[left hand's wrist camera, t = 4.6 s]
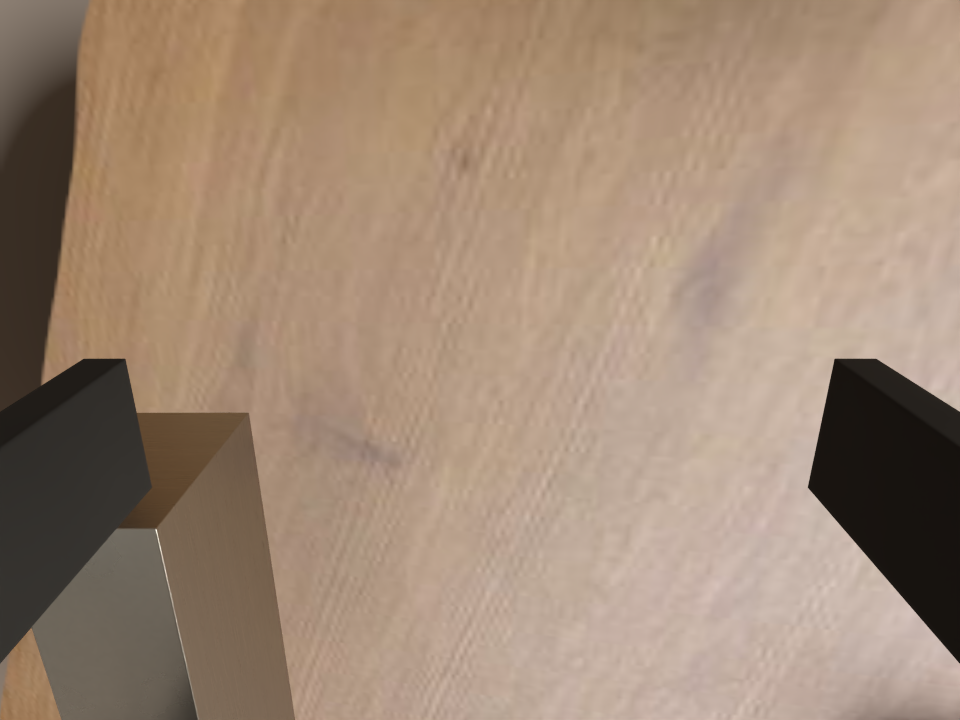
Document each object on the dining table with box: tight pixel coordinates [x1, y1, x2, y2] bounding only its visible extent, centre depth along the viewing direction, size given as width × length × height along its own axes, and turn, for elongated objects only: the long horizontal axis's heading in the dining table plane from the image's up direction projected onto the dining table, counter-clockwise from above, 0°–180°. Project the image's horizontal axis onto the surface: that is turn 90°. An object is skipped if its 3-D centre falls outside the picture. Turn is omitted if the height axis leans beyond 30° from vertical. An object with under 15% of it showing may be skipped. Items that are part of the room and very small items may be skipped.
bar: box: [32, 413, 295, 720], centre depth 32 cm, size 23×6×10 cm, turn 1°
